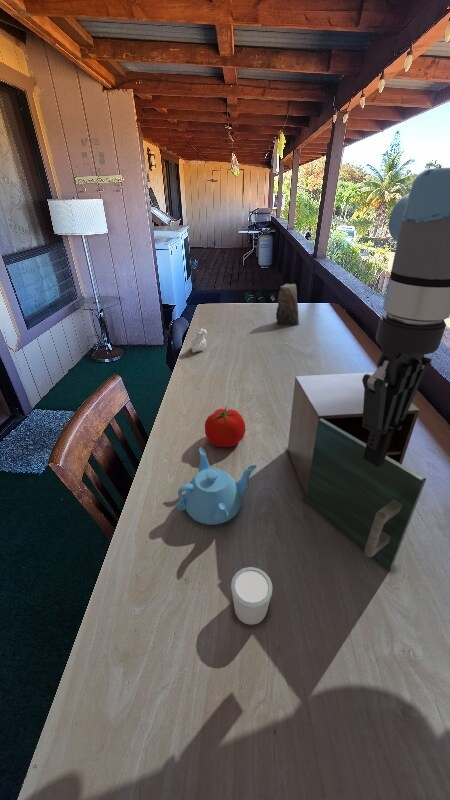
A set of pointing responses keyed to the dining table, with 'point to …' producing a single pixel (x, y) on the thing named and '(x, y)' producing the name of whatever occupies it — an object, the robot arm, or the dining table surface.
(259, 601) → the glass of milk
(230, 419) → the tomato
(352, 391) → the cupboard
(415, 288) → the robot arm
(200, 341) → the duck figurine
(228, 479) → the teapot
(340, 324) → the dining table surface
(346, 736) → the dining table surface
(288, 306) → the brown rock
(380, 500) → the cupboard door
